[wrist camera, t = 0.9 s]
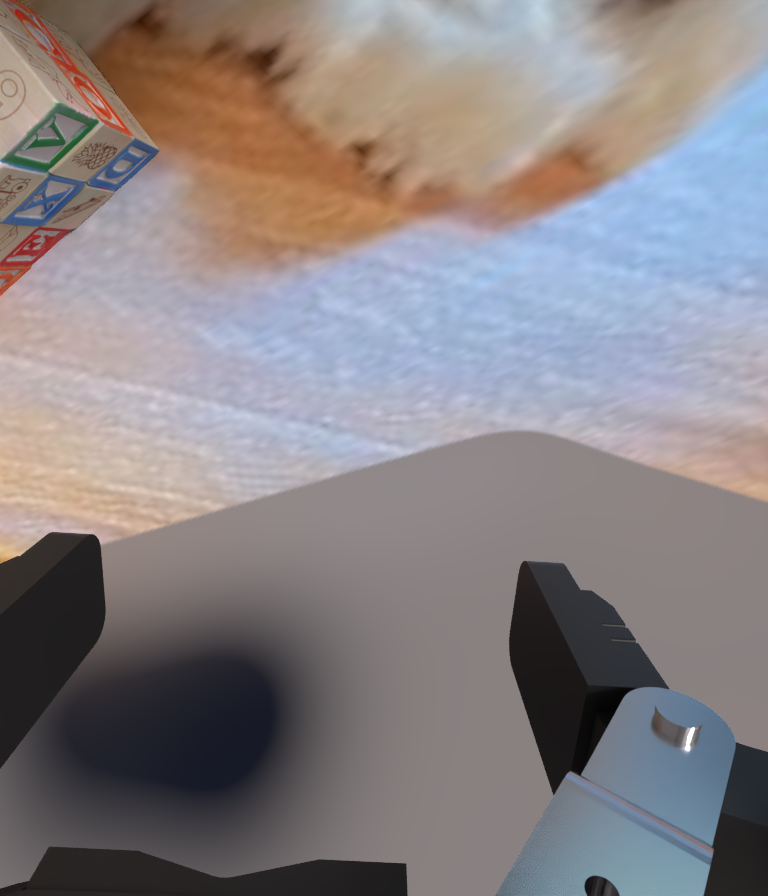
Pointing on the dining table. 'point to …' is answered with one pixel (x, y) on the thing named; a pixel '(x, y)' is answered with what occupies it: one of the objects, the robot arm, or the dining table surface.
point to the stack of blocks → (55, 139)
